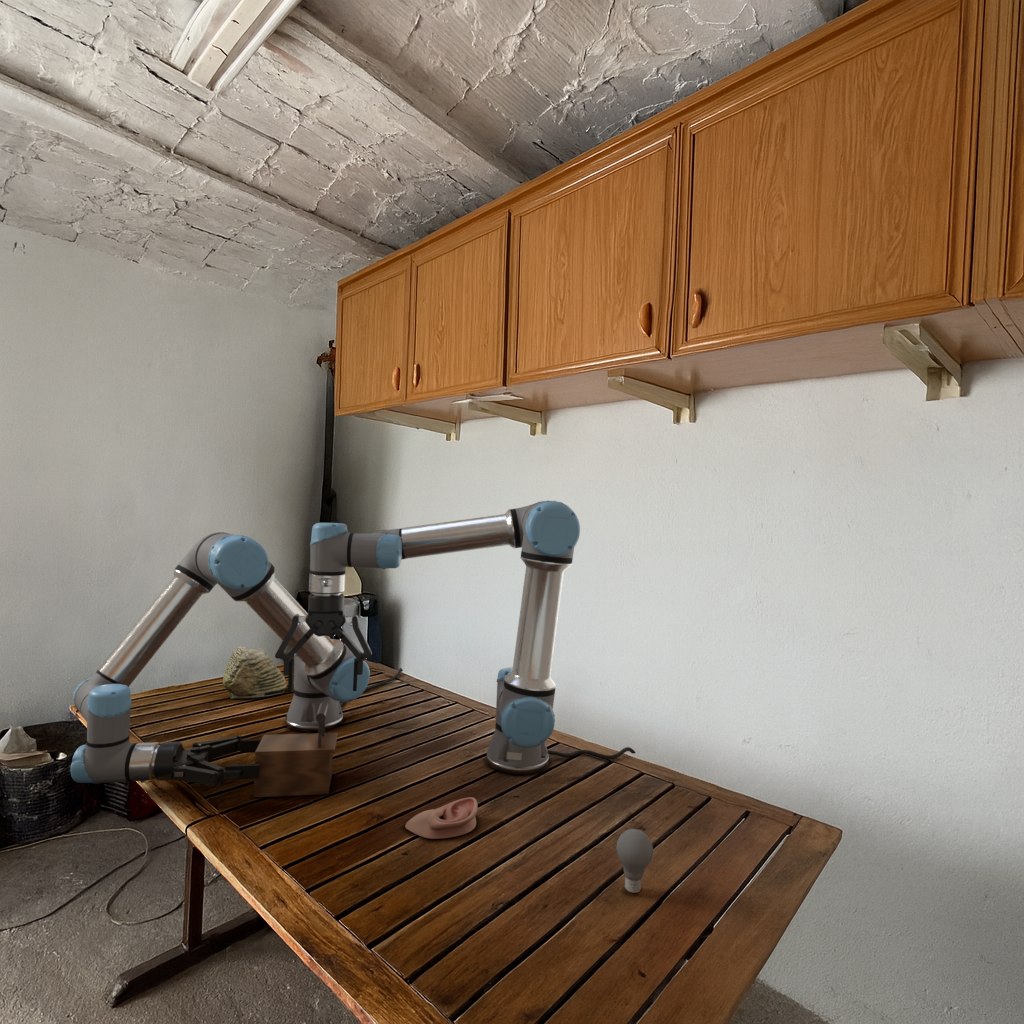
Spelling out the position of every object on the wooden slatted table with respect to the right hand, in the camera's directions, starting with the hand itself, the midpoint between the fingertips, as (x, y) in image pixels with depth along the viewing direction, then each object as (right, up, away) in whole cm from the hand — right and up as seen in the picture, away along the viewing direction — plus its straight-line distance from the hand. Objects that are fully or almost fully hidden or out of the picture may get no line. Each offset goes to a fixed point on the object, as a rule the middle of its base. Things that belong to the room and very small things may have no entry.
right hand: (323, 689), depth 139 cm
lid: (-5, -12, -1) cm, 13 cm away
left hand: (-12, -14, -2) cm, 18 cm away
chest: (-6, -21, -1) cm, 22 cm away
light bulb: (+62, -24, -33) cm, 74 cm away
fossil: (-39, -18, +59) cm, 73 cm away
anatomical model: (+28, -23, -15) cm, 39 cm away
